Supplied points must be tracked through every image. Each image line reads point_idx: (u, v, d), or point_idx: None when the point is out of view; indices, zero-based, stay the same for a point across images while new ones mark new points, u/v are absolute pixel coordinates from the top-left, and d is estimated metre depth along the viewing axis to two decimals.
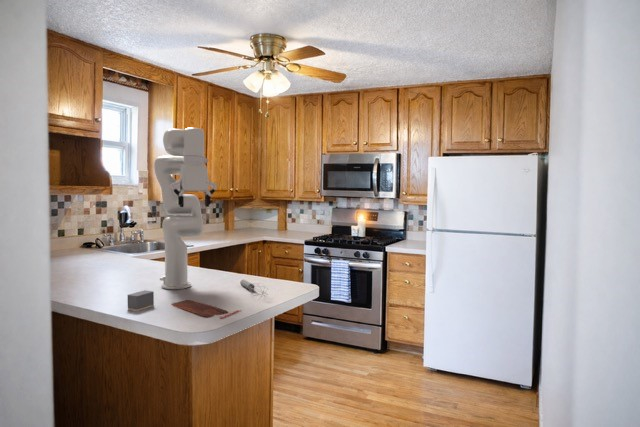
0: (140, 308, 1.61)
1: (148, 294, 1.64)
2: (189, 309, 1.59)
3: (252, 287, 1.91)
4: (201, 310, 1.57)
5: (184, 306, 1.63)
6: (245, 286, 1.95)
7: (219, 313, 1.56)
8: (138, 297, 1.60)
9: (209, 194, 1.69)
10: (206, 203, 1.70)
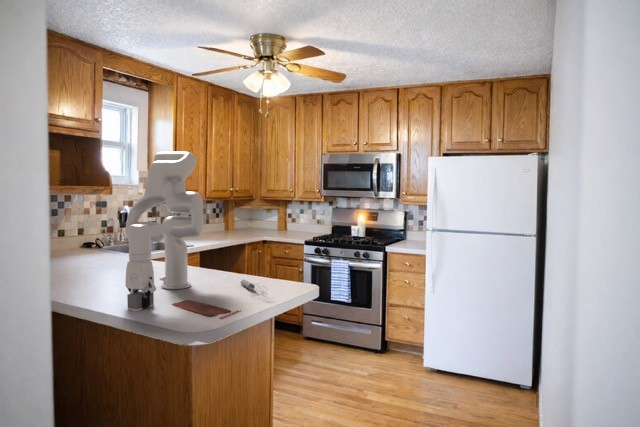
0: (140, 308, 1.61)
1: None
2: (192, 309, 1.60)
3: (252, 287, 1.91)
4: (204, 309, 1.58)
5: (186, 306, 1.64)
6: (245, 286, 1.95)
7: (222, 312, 1.57)
8: (138, 297, 1.60)
9: None
10: None
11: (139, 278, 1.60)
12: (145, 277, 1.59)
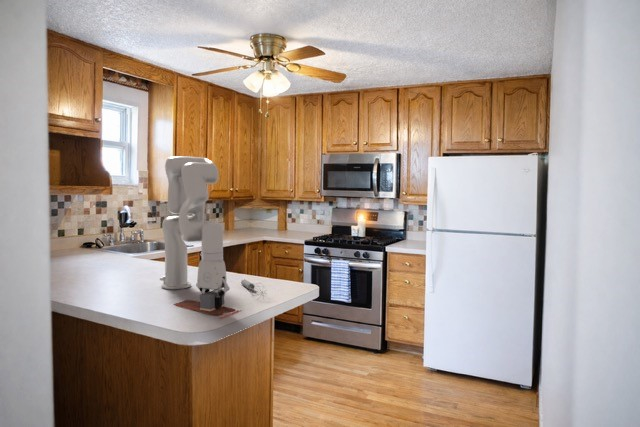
0: (213, 308, 1.58)
1: None
2: (196, 308, 1.60)
3: (252, 287, 1.91)
4: None
5: (189, 306, 1.64)
6: (245, 286, 1.95)
7: (228, 311, 1.59)
8: (211, 297, 1.57)
9: None
10: None
11: (213, 278, 1.57)
12: (219, 277, 1.56)
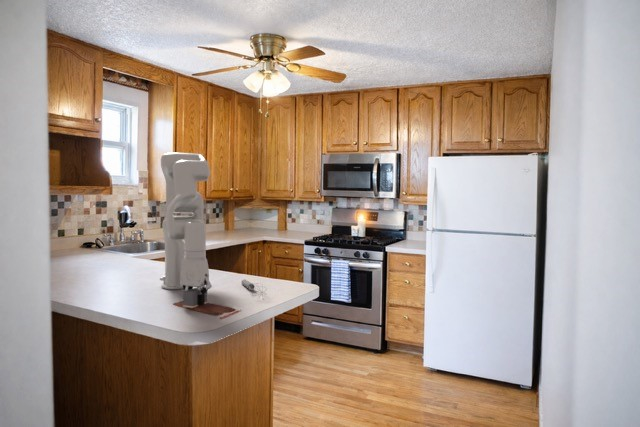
0: (195, 305, 1.61)
1: None
2: (195, 308, 1.61)
3: (252, 287, 1.91)
4: (209, 308, 1.59)
5: None
6: (245, 286, 1.95)
7: (227, 310, 1.59)
8: (194, 294, 1.60)
9: None
10: None
11: (195, 275, 1.60)
12: (201, 274, 1.60)
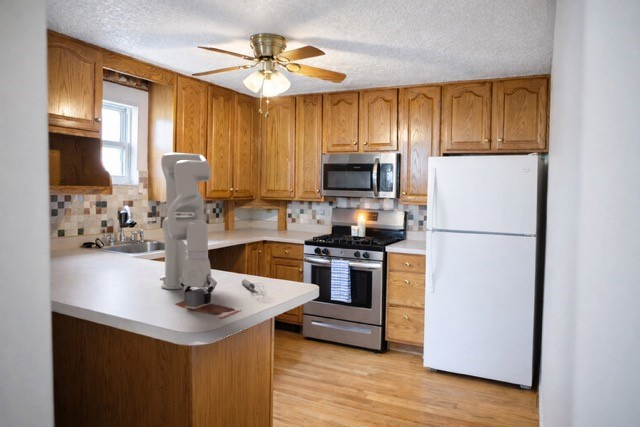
0: (198, 306, 1.61)
1: None
2: None
3: (252, 287, 1.91)
4: (209, 309, 1.60)
5: None
6: (246, 286, 1.95)
7: (227, 311, 1.59)
8: (196, 295, 1.60)
9: None
10: None
11: (197, 276, 1.60)
12: (204, 275, 1.59)
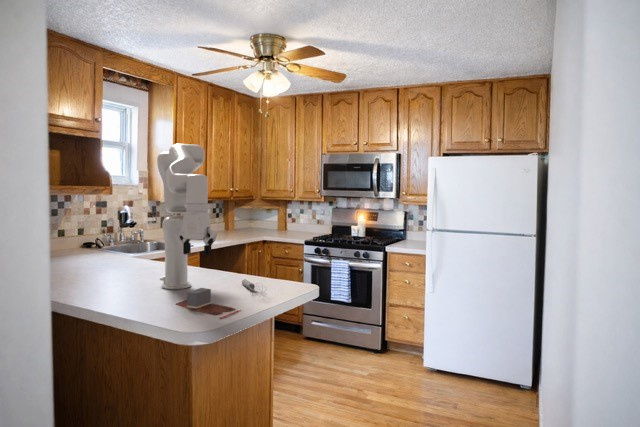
0: (199, 305, 1.61)
1: (206, 291, 1.65)
2: None
3: (252, 287, 1.91)
4: (209, 308, 1.60)
5: None
6: (246, 286, 1.95)
7: (227, 311, 1.60)
8: (198, 294, 1.60)
9: None
10: (188, 250, 1.65)
11: (197, 228, 1.59)
12: (203, 227, 1.58)
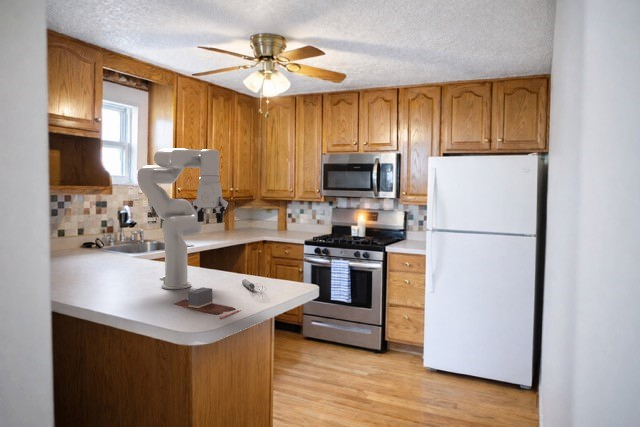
0: (201, 305, 1.62)
1: (208, 291, 1.65)
2: (196, 308, 1.62)
3: (252, 287, 1.91)
4: (209, 308, 1.60)
5: None
6: (246, 286, 1.95)
7: (228, 310, 1.60)
8: (199, 294, 1.61)
9: None
10: (202, 218, 1.83)
11: (210, 197, 1.77)
12: (216, 196, 1.76)
